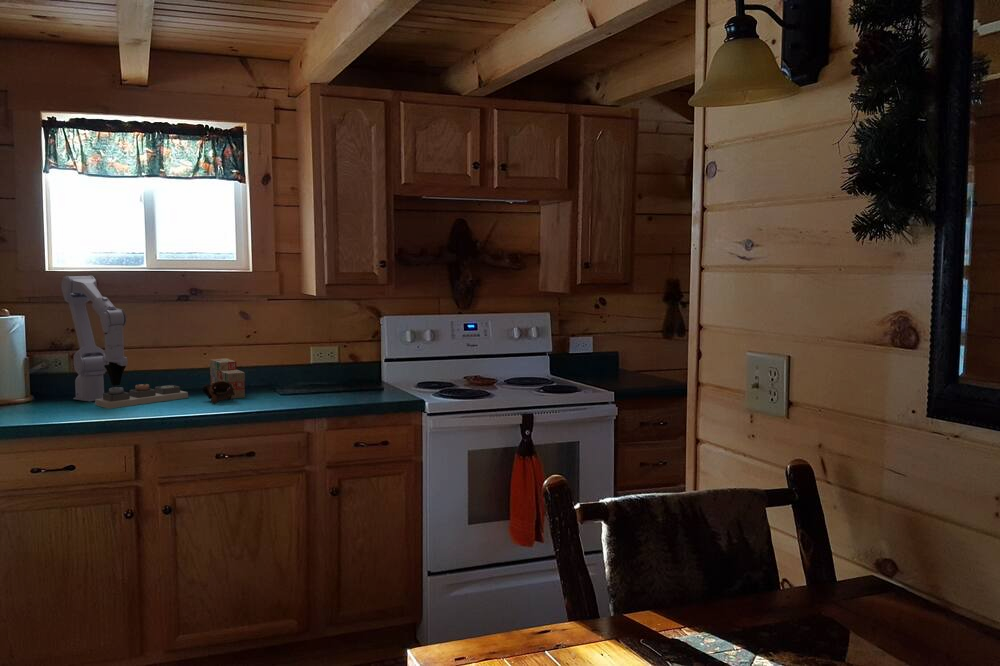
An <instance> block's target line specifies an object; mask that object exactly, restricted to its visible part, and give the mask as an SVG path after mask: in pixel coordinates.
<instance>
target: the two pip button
mask: <svg viewBox="0 0 1000 666" xmlns="http://www.w3.org/2000/svg"><path fill="white" fill-rule="evenodd" d="M123 392H124V387H117V386H115V387H110V388H108V393H110V394H119V393H123Z"/></svg>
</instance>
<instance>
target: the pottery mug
mask: <svg viewBox="0 0 1000 666" xmlns="http://www.w3.org/2000/svg"><path fill="white" fill-rule="evenodd" d="M214 387H216V388H215V389H214ZM229 387H230V389H229V390H228V391H227V389H228V388H229ZM233 390H234V388H233V387H232V384H230V383H229V382H226V381H217V382H214V383H213V384H211V383H210V384H209V383H206V384H204V385H203V386H202V392H203V393H204V395H206V396H207V397H208V399H209V400H210V402H211V403H212V404H214V405H215V404H216V403H217V402H220V401H224V400H232V399H231V396H232V395H235V394H234V391H233Z"/></svg>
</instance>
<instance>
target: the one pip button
mask: <svg viewBox="0 0 1000 666" xmlns="http://www.w3.org/2000/svg"><path fill="white" fill-rule="evenodd" d="M161 386H162V387H161V388H163V389H165V388H173V387H174V386H166V385H161Z"/></svg>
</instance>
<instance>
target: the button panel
mask: <svg viewBox="0 0 1000 666" xmlns="http://www.w3.org/2000/svg"><path fill="white" fill-rule="evenodd" d="M162 386H163V385H159V386H154V388H150V387H149V390H141V391H139V390H136V389H130V390H129V392H126V391H123V393H119V394H110V393H109V392H104V393H103V398H101V399H95V401H94V405H95V406H97V407H101V408H104V409H108V410H110V409H117V408H123V407H124V408H125V407H133V406H139V405H146V404H152V403H159V402H167V401H174V400H181V399H183V400H184V399H188V398H189V392H188V391H183V390H181V386H178V385H174V384H168V385H165V386H174V387H173V388H165V389H163V388H161V387H162Z"/></svg>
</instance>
